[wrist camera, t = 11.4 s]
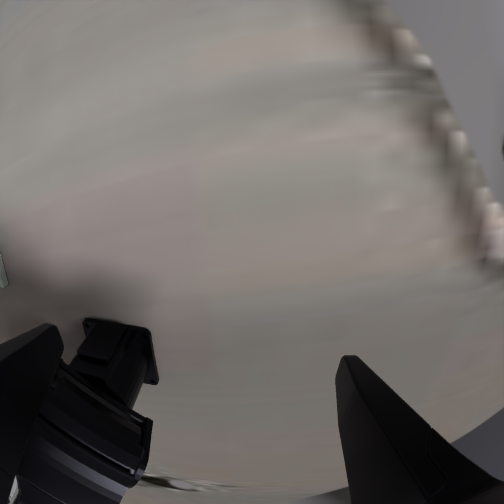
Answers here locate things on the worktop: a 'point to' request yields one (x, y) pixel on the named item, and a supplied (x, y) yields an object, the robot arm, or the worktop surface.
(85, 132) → the worktop surface
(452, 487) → the robot arm
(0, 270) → the sage board
